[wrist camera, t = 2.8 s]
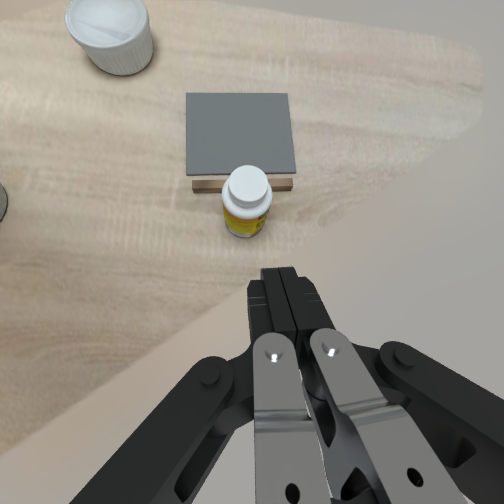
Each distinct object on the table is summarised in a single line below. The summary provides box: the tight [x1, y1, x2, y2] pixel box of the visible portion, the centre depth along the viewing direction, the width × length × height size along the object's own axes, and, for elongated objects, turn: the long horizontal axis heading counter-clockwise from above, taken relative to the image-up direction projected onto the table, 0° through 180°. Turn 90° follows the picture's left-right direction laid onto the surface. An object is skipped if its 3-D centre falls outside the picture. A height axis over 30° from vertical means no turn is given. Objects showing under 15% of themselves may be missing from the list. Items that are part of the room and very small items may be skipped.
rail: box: [192, 178, 293, 193], centre depth 33 cm, size 14×1×1 cm, turn 94°
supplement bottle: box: [222, 165, 272, 237], centre depth 28 cm, size 6×6×10 cm
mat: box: [186, 93, 296, 176], centre depth 35 cm, size 16×14×1 cm
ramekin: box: [65, 0, 153, 75], centre depth 35 cm, size 11×11×5 cm
